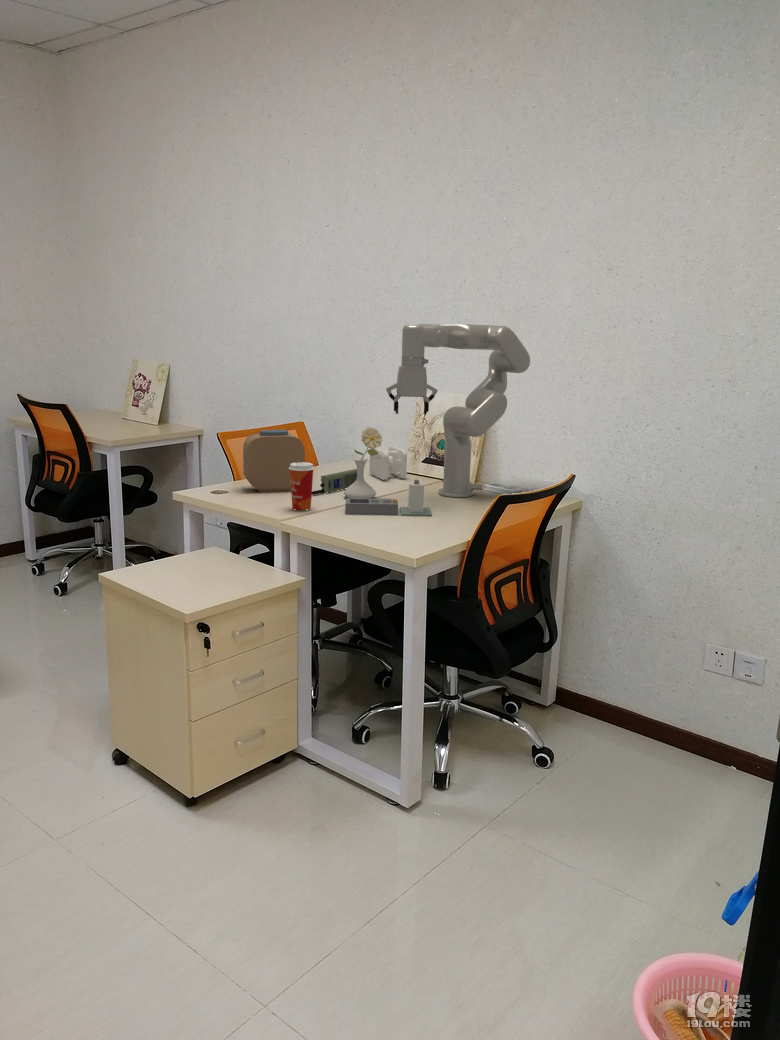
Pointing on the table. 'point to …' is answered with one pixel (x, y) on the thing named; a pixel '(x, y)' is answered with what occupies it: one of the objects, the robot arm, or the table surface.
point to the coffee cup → (301, 485)
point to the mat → (405, 512)
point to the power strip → (371, 506)
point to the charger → (416, 496)
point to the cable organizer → (389, 463)
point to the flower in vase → (360, 486)
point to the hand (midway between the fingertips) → (411, 413)
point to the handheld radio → (337, 481)
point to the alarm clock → (271, 459)
